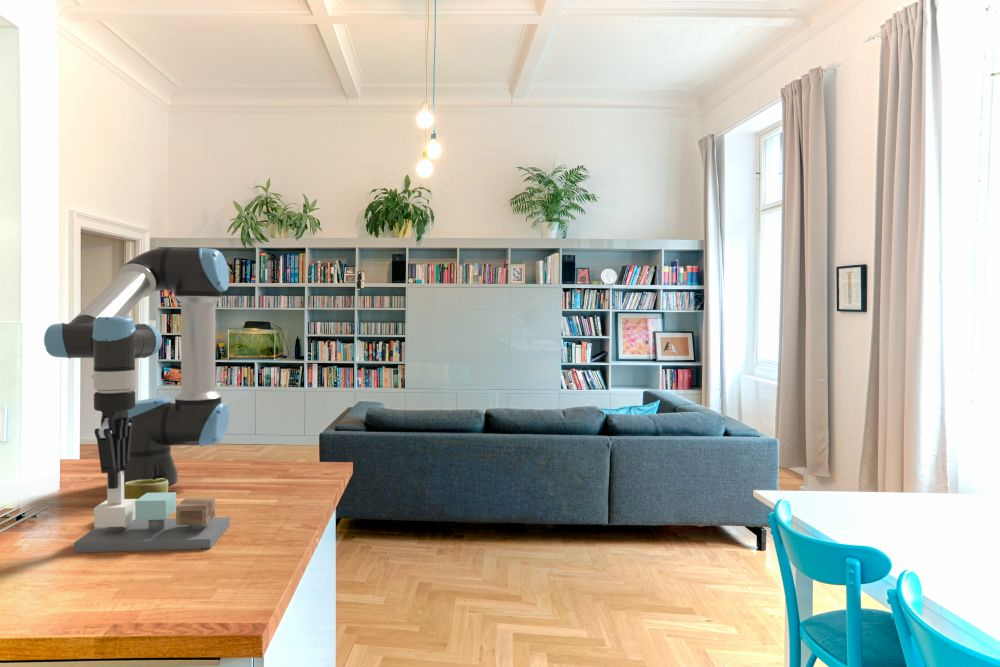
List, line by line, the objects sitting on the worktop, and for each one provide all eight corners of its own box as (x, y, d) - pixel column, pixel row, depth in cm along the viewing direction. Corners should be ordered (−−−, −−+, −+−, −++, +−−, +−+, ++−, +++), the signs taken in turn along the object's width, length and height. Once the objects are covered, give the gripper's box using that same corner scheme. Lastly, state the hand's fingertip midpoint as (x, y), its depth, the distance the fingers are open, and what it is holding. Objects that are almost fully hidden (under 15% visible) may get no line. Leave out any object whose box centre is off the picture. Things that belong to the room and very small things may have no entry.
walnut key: (186, 516, 145) (186, 497, 145) (215, 515, 146) (214, 497, 146) (176, 525, 139) (176, 506, 139) (206, 524, 140) (206, 505, 140)
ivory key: (107, 517, 143) (107, 499, 143) (137, 517, 144) (137, 498, 144) (94, 527, 137) (93, 508, 137) (125, 526, 138) (125, 507, 138)
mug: (151, 516, 150) (146, 472, 152) (114, 527, 152) (109, 483, 154) (190, 511, 162) (184, 470, 164) (154, 521, 164) (149, 480, 166)
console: (106, 529, 147) (106, 505, 147) (229, 525, 150) (229, 503, 150) (74, 552, 133) (73, 526, 133) (210, 548, 136) (210, 523, 136)
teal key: (147, 511, 144) (146, 492, 144) (176, 510, 145) (176, 492, 145) (135, 520, 138) (135, 500, 138) (166, 519, 139) (165, 500, 139)
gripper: (109, 386, 145) (111, 494, 146) (79, 394, 132) (81, 512, 133) (146, 386, 146) (147, 493, 147) (119, 394, 133) (121, 511, 134)
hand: (115, 502), depth 140 cm, fingers closed
